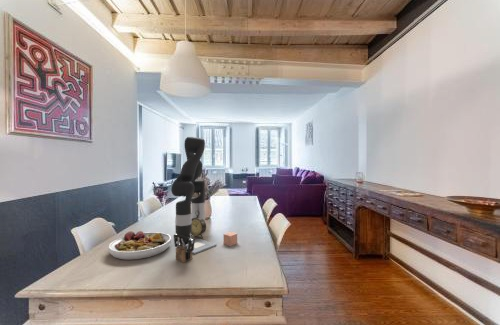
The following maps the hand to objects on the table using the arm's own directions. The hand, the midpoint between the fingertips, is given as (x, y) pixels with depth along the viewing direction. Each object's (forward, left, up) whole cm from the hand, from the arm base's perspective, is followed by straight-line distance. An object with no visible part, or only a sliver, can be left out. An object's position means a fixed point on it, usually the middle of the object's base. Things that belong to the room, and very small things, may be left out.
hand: (184, 257), depth 115 cm
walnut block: (0, 0, -1) cm, 1 cm away
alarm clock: (-21, +25, -1) cm, 33 cm away
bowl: (-28, -7, -1) cm, 29 cm away
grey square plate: (-8, +14, -1) cm, 16 cm away
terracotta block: (+3, +29, -1) cm, 29 cm away
